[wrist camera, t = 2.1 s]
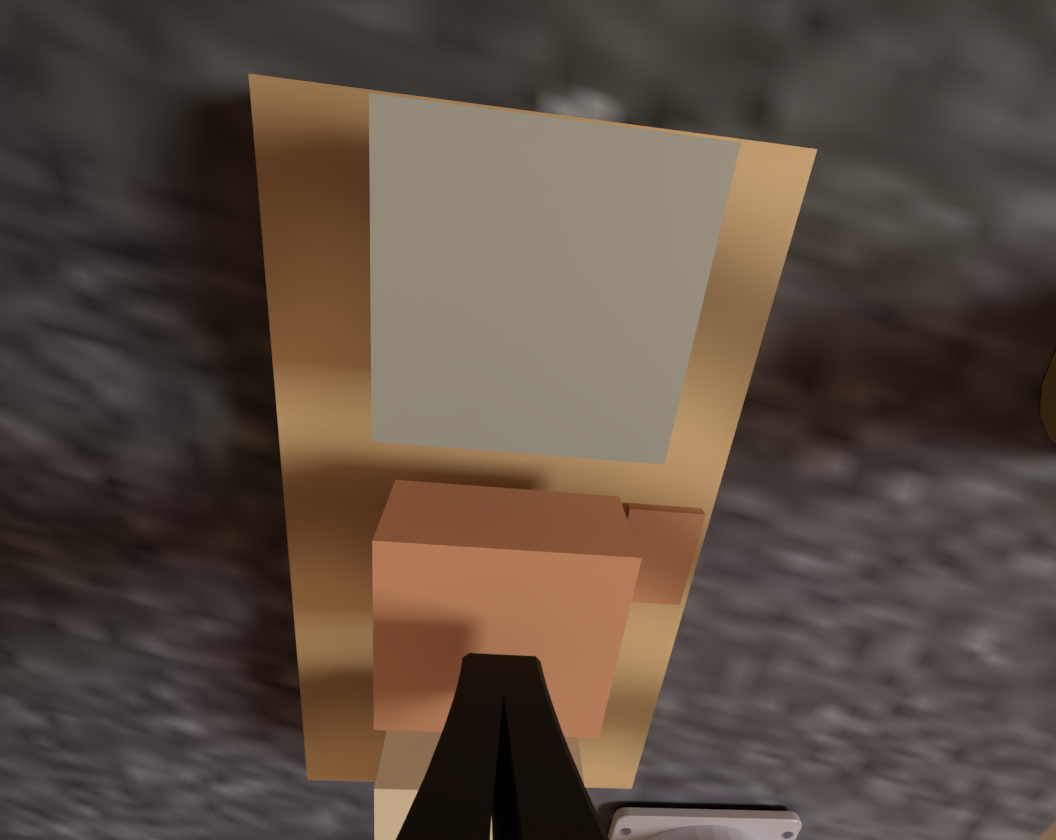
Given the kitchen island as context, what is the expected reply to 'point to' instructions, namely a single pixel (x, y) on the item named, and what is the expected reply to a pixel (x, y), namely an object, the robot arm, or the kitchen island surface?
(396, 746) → the button cream
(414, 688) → the button terracotta
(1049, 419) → the butternut squash
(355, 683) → the button board
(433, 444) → the button slate
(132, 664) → the kitchen island surface
